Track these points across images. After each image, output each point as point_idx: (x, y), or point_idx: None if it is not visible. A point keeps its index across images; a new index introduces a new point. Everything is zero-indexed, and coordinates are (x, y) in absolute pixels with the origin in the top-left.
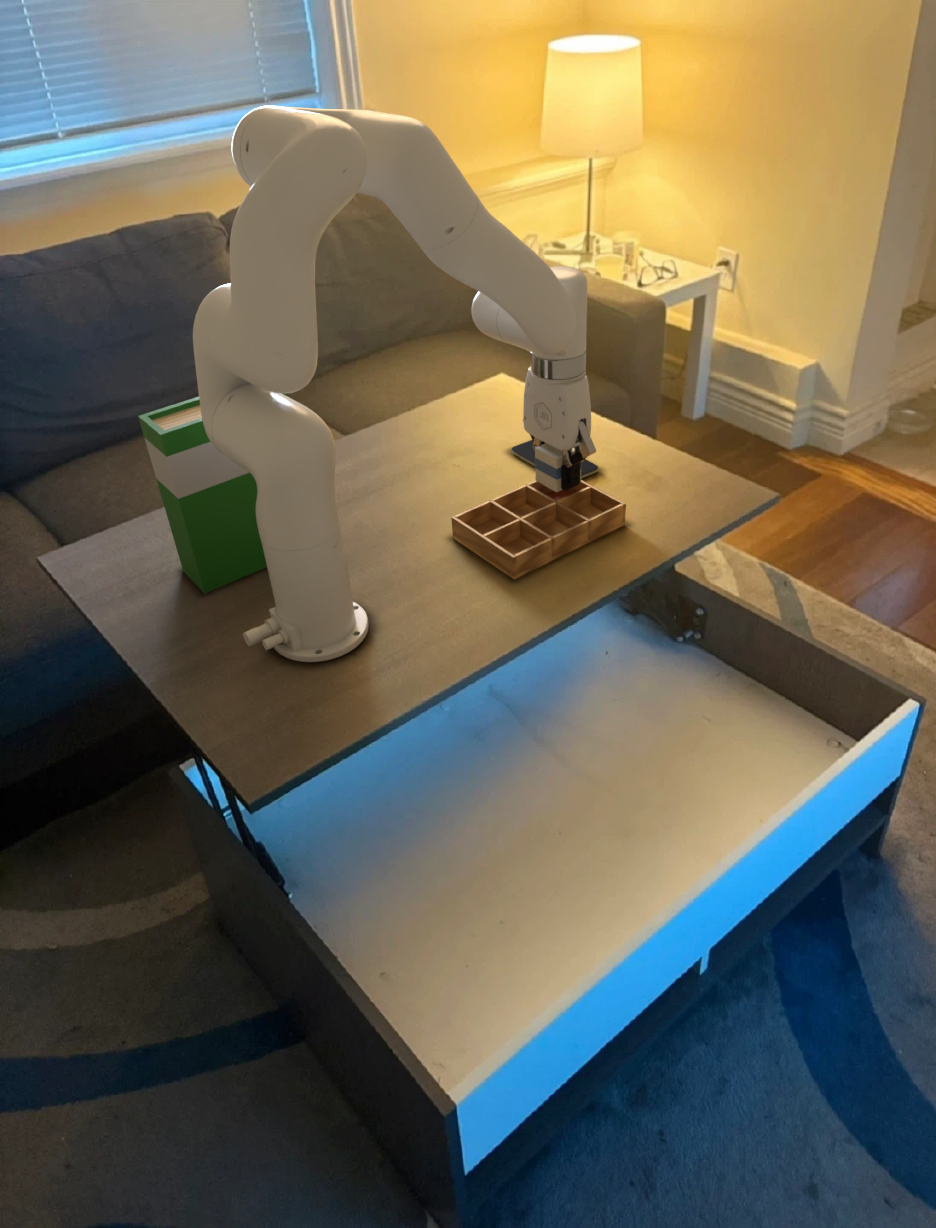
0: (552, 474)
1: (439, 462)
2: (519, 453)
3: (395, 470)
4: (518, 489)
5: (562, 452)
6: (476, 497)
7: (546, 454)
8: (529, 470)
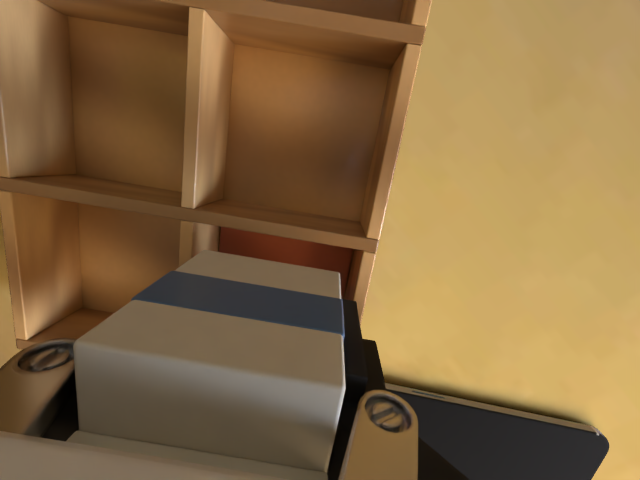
0: (195, 282)
1: None
2: (566, 431)
3: None
4: (376, 197)
5: (33, 420)
6: (542, 162)
7: (199, 355)
8: (486, 382)
